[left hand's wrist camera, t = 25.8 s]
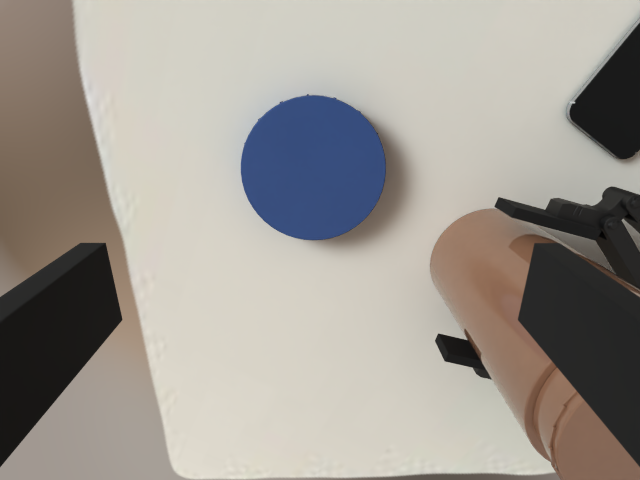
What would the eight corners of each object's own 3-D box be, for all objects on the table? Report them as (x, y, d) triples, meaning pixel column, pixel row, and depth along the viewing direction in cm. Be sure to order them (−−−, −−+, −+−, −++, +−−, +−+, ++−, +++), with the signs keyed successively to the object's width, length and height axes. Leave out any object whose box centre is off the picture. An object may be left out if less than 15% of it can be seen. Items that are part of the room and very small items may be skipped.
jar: (448, 199, 34) (607, 327, 16) (556, 219, 35) (828, 365, 16) (416, 299, 38) (515, 501, 19) (515, 315, 38) (702, 525, 20)
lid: (393, 213, 35) (398, 222, 32) (268, 245, 35) (265, 255, 33) (365, 77, 31) (369, 76, 28) (226, 116, 31) (219, 118, 29)
